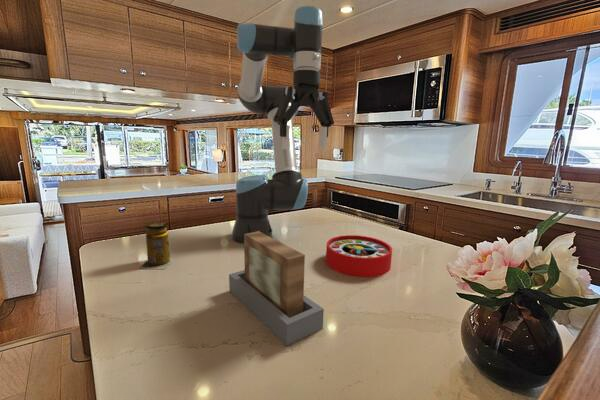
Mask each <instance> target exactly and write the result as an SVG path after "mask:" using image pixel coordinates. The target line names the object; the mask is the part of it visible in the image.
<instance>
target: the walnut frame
mask: <svg viewBox="0 0 600 400" xmlns="http://www.w3.org/2000/svg"><path fill="white" fill-rule="evenodd" d="M243 244H244V245H243V246H244V248H243V249H244V250H243V251H244V254H243V256H244V270H245V282H246V283H248V284H249V285H250V286H251V287H252V288H254V289H255V290H256V291H257V292H259V293H260V294H261V295H262V296H263V297H265V298H266V299H267V300H268V301H269V302H271V303H272V304H273V305H274V306H275V307H277V308H278V309H279V310H280V311H281V312H283V313H284V314H285V315H286V316H287V317H289V318H290V317H293V316H295V315H297V314H300V313H302V312H303V297H304V296H305V294H304V293H305V292H304V291H305V290H304V289H305V264H306V263H305V260H306V255H305V254H304V253H302V252H300V251H298V250H296V249H294V248H292V247H290V246H288V245H287V244H284V243H282V242H280V241H279V240H277V239H275V238H273V237H272V238H271V237H269V236H267V235H265V234H263V233H261V232H260V231H257V232H252V233H247V234H244V243H243Z"/></svg>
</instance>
